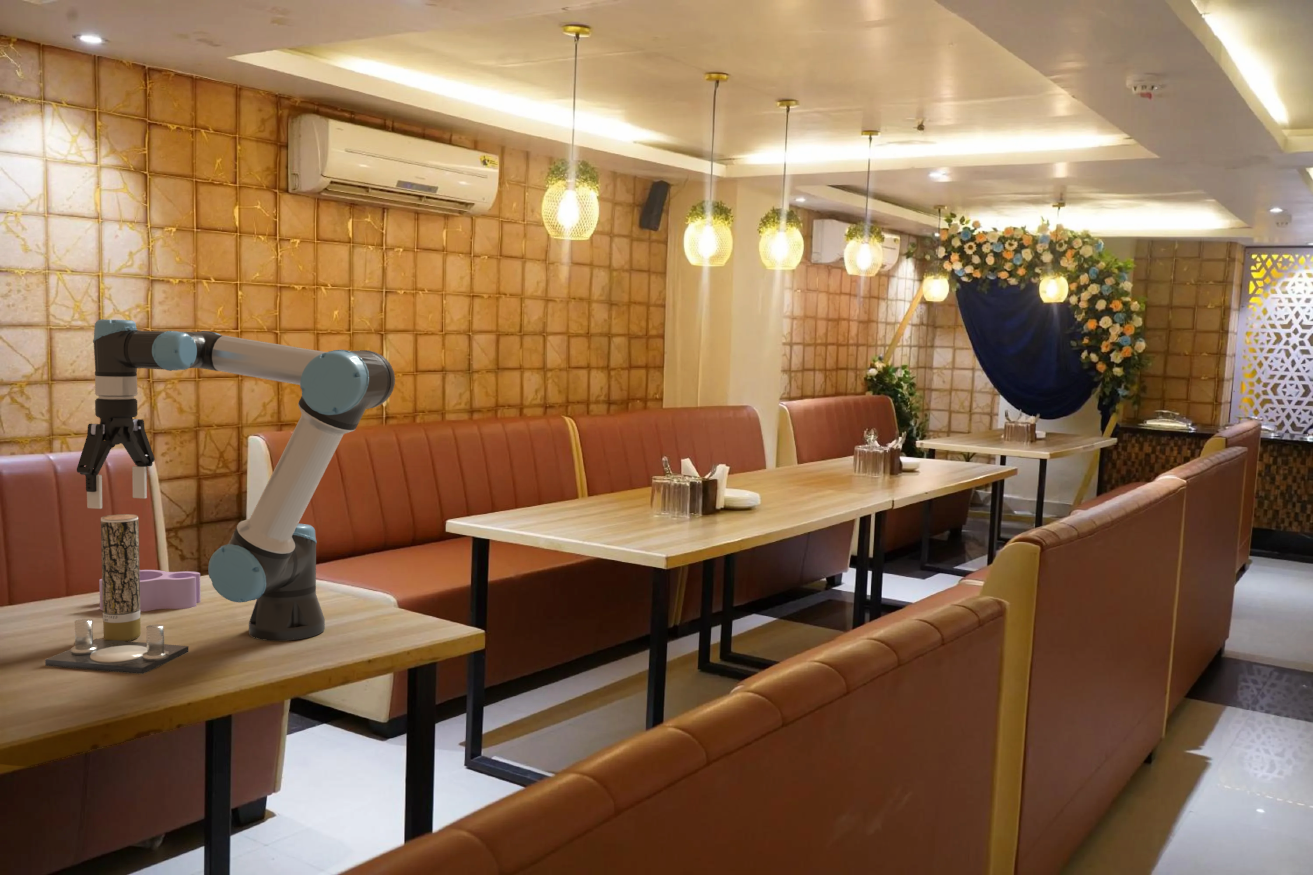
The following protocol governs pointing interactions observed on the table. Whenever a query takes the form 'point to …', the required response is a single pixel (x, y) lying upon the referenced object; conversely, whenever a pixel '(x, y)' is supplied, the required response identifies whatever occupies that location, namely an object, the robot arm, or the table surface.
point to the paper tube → (120, 577)
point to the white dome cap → (118, 654)
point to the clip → (166, 590)
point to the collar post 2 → (155, 643)
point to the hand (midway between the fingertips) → (118, 503)
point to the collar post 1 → (83, 638)
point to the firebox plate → (130, 666)
